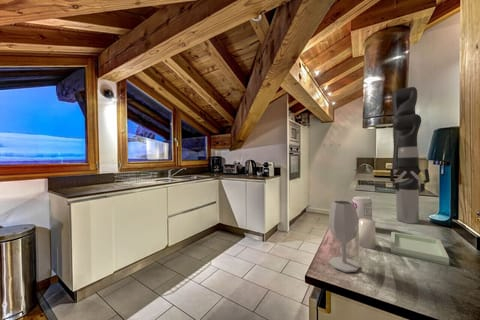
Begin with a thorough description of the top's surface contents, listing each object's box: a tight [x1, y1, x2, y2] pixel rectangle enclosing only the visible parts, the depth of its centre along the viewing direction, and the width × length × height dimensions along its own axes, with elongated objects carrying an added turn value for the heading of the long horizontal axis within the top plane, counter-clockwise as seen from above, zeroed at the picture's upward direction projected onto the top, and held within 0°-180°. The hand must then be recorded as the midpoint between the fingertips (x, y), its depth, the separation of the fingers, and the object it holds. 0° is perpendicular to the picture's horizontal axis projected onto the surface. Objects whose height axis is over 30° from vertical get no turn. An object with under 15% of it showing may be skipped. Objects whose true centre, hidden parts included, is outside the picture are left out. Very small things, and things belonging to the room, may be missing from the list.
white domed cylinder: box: [358, 218, 377, 250], centre depth 80 cm, size 6×6×10 cm
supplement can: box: [351, 195, 373, 230], centre depth 99 cm, size 8×8×15 cm
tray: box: [390, 231, 450, 267], centre depth 76 cm, size 17×15×2 cm
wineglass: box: [328, 199, 361, 273], centre depth 66 cm, size 9×9×21 cm
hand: (409, 191), depth 95 cm, fingers open, 8 cm apart
